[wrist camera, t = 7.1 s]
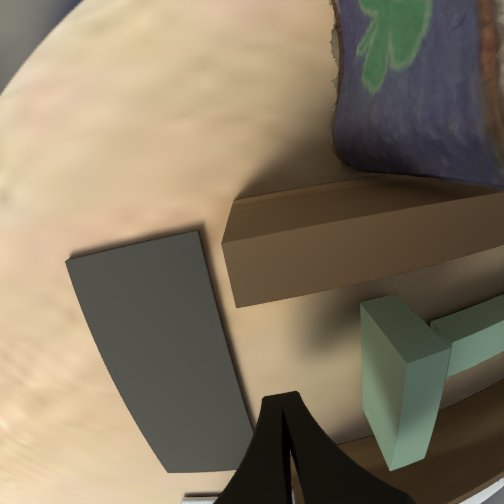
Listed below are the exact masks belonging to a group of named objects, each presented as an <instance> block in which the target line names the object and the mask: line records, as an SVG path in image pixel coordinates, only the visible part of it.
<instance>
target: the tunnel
mask: <svg viewBox="0 0 504 504" xmlns="http://www.w3.org/2000/svg"><path fill="white" fill-rule="evenodd" d="M221 244H222V249H223V253H224V258H225V262H226V266H227V271H228V275H229V279H230V284H231V288H232V292H233V296H234V301H235V305H236V308H241V307H246V306H252V305H257V304H262V303H268V302H273V301H278V300H283V299H288V298H293V297H298V296H303V295H307V294H312V293H317V292H322V291H326V290H331V289H335V288H340V287H344V286H349V285H353V284H358V283H362V282H366V281H370V280H375V279H379V278H383V277H387V276H391V275H395V274H399V273H403V272H407V271H411V270H415V269H419V268H423V267H427V266H430V265H434V264H438V263H442V262H445V261H449V260H453V259H456V258H460V257H463V256H467V255H470V254H474V253H477V252H481V251H484V250H488V249H491V248H494V247H498V246H501V245H504V190H501V189H496V188H490V187H485V186H481V185H465V184H461V183H456V182H447V181H443V180H441V179H438V178H425V177H414V176H408V175H396V174H386V175H379V176H372V177H365V178H358V179H352V180H345V181H339V182H332V183H326V184H320V185H314V186H308V187H303V188H297V189H291V190H286V191H280V192H275V193H269V194H264V195H259V196H254V197H249V198H243V199H238V200H233V204H232V207H231V211H230V214H229V218H228V221H227V225H226V229H225V232H224V236H223V239H222V243H221ZM337 446H338V447H339V448H340V449H341V450H342V451H343V452H344V453H345V454H346V455H348V456H349V457H350V458H351V459H352V460H354V461H355V462H356V463H357V464H359V465H360V466H361V467H363V468H364V469H366V470H367V471H369V472H370V473H371V474H373V475H374V476H376V477H377V478H379V479H381V480H383V481H384V482H386V483H388V484H390V485H392V486H394V487H395V488H397V489H400V490H402V491H404V492H406V493H408V494H409V495H410V496H411V497H412V499H413V500H414V501H415V502H416V504H459V503H461V502H463V501H464V500H466V499H468V498H470V497H472V496H474V495H475V494H477V493H479V492H481V491H482V490H484V489H486V488H487V487H489V486H491V485H492V484H494V483H495V482H497V481H498V480H500V479H502V478H503V477H504V379H503V380H501V381H499V382H498V383H496V384H494V385H492V386H490V387H488V388H486V389H485V390H483V391H481V392H479V393H477V394H475V395H473V396H471V397H469V398H467V399H465V400H463V401H460V402H458V403H456V404H454V405H452V406H450V407H447V408H445V409H443V410H440V411H438V413H437V417H436V421H435V425H434V428H433V432H432V435H431V438H430V442H429V445H428V448H427V451H426V454H425V457H424V459H421V460H419V461H416V462H414V463H411V464H409V465H406V466H403V467H401V468H398V469H395V470H392V471H390V470H389V468H388V466H387V463H386V461H385V459H384V456H383V454H382V452H381V449H380V447H379V445H378V442H377V440H376V438H375V435H372V436H369V437H365V438H362V439H358V440H355V441H351V442H347V443H344V444H340V445H337ZM290 459H291V479H292V486H293V493H294V500H295V504H305V503H304V498H303V494H302V490H301V486H300V483H299V479H298V476H297V472H296V469H295V465H294V461H293V458H292V455H290Z"/></svg>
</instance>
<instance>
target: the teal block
mask: <svg viewBox="0 0 504 504" xmlns="http://www.w3.org/2000/svg"><path fill="white" fill-rule="evenodd" d="M360 316H361V341H362V408H363V411H364V413H365V415H366V417H367V420H368V422H369V424H370V426H371V429H372V431H373V433H374V435H375V438H376V440H377V442H378V445H379V447H380V449H381V452H382V454H383V456H384V459H385V461H386V463H387V466H388V468H389V470H390V471H392V470H395V469H398V468H401V467H403V466H406V465H409V464H411V463H414V462H416V461H419V460H421V459H424V457H425V454H426V451H427V448H428V445H429V442H430V438H431V435H432V432H433V428H434V425H435V421H436V417H437V413H438V409H439V405H440V401H441V397H442V392H443V387H444V383H445V378H448V377H450V376H453V375H455V374H457V373H460V372H462V371H464V370H466V369H468V368H471V367H473V366H475V365H477V364H479V363H481V362H483V361H485V360H487V359H489V358H491V357H493V356H495V355H497V354H499V353H501V352H503V351H504V294H503V295H500V296H498V297H495V298H493V299H490V300H488V301H485V302H483V303H480V304H478V305H475V306H473V307H470V308H467V309H465V310H462V311H459V312H456V313H454V314H451V315H448V316H445V317H442V318H439V319H436V320H434V321H431V323H430V327H429V326H428V325H427V324H426V323H425V322H424V321H423V320H422V319H421V318H420V317H419V316H418V315H417V314H416V313H415V312H414V311H413V310H412V309H410V308H409V307H408V306H407V305H406V304H405V303H404V302H403V301H402V300H401V299H400V298H399V297H398V296H397V295H396V294H392V295H388V296H384V297H380V298H376V299H372V300H368V301H364V302H360Z"/></svg>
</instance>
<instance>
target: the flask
mask: <svg viewBox="0 0 504 504" xmlns="http://www.w3.org/2000/svg"><path fill="white" fill-rule="evenodd" d="M329 4H330V5H333V6H334V7H333V9H334V21H335V23H334V25H333V26H334V29H333V30H332V40H331V41H330V43H331V45H332V51H331V53H332V54H333V56H334V57H333V58H336V60H335V62H336V63H337V66H338V67H339V70H338V71H339V72H338V77H337V78H335V79H334V80H332V81H333V83H334V84H335V88H336V91H337V101H336V103H335V105H334V108H332V109H331V110H332V111H333V116H332V122H331V135H330V144H331V146H332V148H333V150H334V152H335V153H336V154H337V156H338V158H339V159H340V160H342V164H343V168H345V167H347V166H351V167H353V168H355V169H356V170H358V171H362V172H365V173H368V172H372V173H384V174H396V175H408V176H414V177H425V178H438V179H441V180H443V181H447V182H456V183H461V184H465V185H481V186H485V187H490V188H496V189H501V190H504V0H329Z"/></svg>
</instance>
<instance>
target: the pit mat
mask: <svg viewBox="0 0 504 504" xmlns="http://www.w3.org/2000/svg"><path fill="white" fill-rule="evenodd" d="M65 263H66V266H67V269H68V272H69V276H70V279H71V281H72V284H73V287H74V290H75V293H76V296H77V298H78V301H79V304H80V306H81V309H82V312H83V314H84V317H85V319H86V322H87V324H88V327H89V329H90V332H91V334H92V336H93V339H94V341H95V343H96V345H97V348H98V350H99V352H100V354H101V357H102V359H103V361H104V363H105V365H106V367H107V369H108V371H109V373H110V375H111V378H112V380H113V382H114V383H115V385H116V387H117V389H118V391H119V393H120V395H121V397H122V399H123V401H124V403H125V404H126V406H127V408H128V410H129V412H130V413H131V415H132V417H133V419H134V420H135V422H136V424H137V426H138V427H139V429H140V431H141V432H142V434H143V436H144V437H145V439H146V441H147V442H148V444H149V445H150V447H151V448H152V450H153V452H154V453H155V455H156V456H157V458H158V459H159V461H160V462H161V464H162V465H163V467H164V468H165V470H166V471H167V473H195V472H216V471H229V470H237V469H238V467H239V465H240V463H241V461H242V459H243V457H244V455H245V453H246V451H247V449H248V446H249V444H250V442H251V439H252V437H253V434H254V432H253V428H252V425H251V422H250V419H249V416H248V412H247V409H246V406H245V402H244V399H243V396H242V392H241V389H240V386H239V382H238V379H237V375H236V372H235V368H234V365H233V361H232V358H231V354H230V351H229V347H228V343H227V340H226V336H225V332H224V329H223V325H222V321H221V318H220V314H219V310H218V306H217V302H216V299H215V295H214V291H213V287H212V283H211V279H210V275H209V271H208V267H207V263H206V259H205V255H204V250H203V246H202V242H201V238H200V234H199V230H194V231H190V232H185V233H180V234H176V235H171V236H166V237H162V238H157V239H153V240H148V241H144V242H139V243H135V244H130V245H126V246H122V247H117V248H113V249H109V250H105V251H100V252H96V253H92V254H88V255H84V256H79V257H75V258H71V259H68V260H66V261H65Z"/></svg>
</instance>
